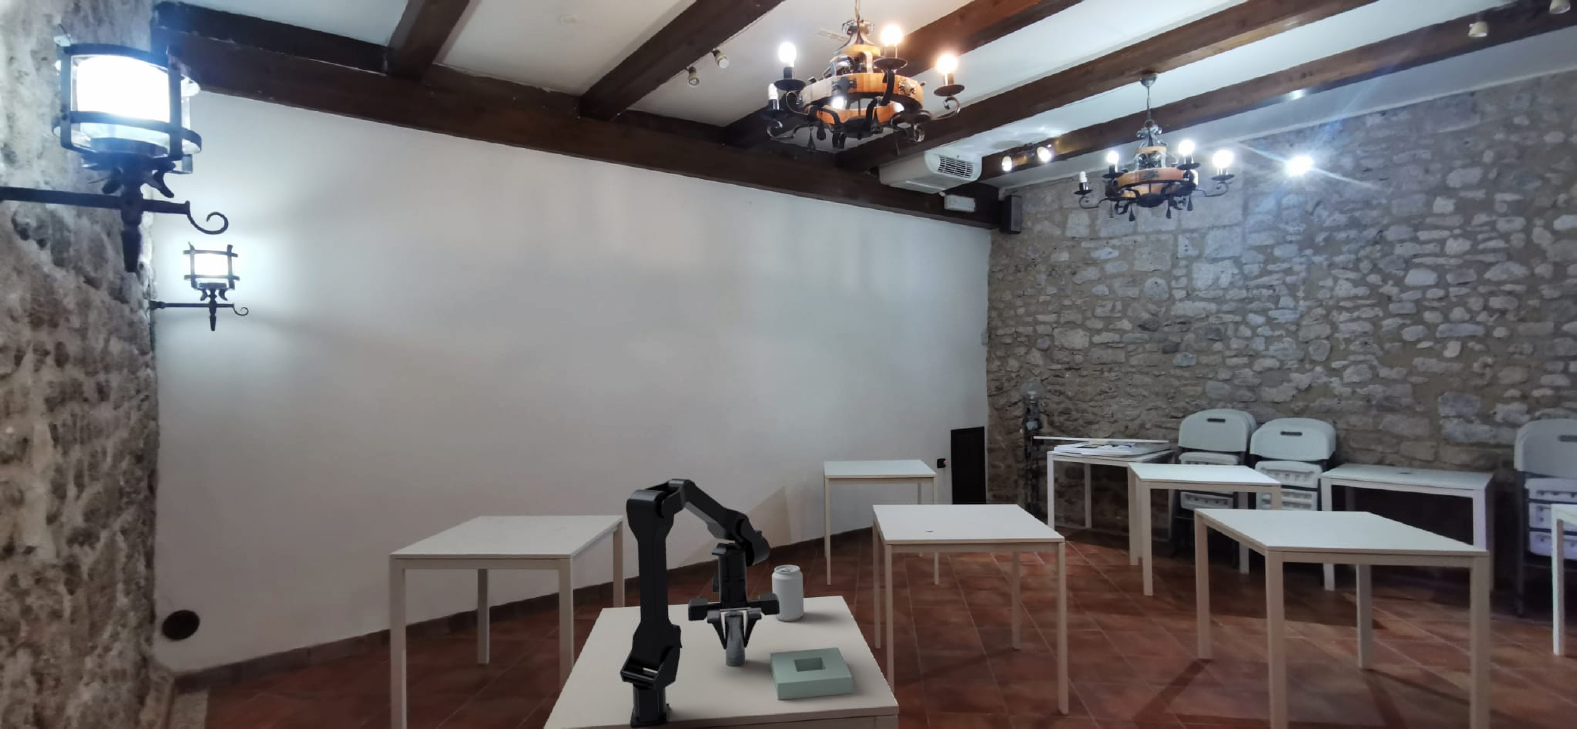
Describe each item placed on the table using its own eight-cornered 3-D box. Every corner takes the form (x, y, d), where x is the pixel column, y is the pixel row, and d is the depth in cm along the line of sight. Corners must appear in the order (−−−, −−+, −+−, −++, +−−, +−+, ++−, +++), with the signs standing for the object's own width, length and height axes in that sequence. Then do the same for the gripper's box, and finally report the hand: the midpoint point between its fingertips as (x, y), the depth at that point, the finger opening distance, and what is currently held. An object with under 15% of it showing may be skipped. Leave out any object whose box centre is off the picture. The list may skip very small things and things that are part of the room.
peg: (745, 665, 146) (744, 616, 146) (726, 667, 145) (724, 618, 145) (744, 657, 150) (743, 610, 150) (725, 659, 149) (724, 611, 149)
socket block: (852, 692, 132) (852, 676, 132) (778, 699, 131) (777, 683, 131) (838, 661, 146) (838, 647, 146) (770, 667, 145) (770, 652, 145)
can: (767, 619, 172) (766, 570, 172) (782, 609, 178) (780, 562, 178) (795, 624, 168) (793, 573, 168) (809, 613, 175) (807, 565, 175)
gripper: (773, 559, 157) (775, 629, 157) (688, 565, 155) (690, 636, 155) (778, 574, 146) (781, 650, 146) (686, 580, 143) (689, 657, 144)
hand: (735, 647), depth 148 cm, fingers closed on peg, 4 cm apart
